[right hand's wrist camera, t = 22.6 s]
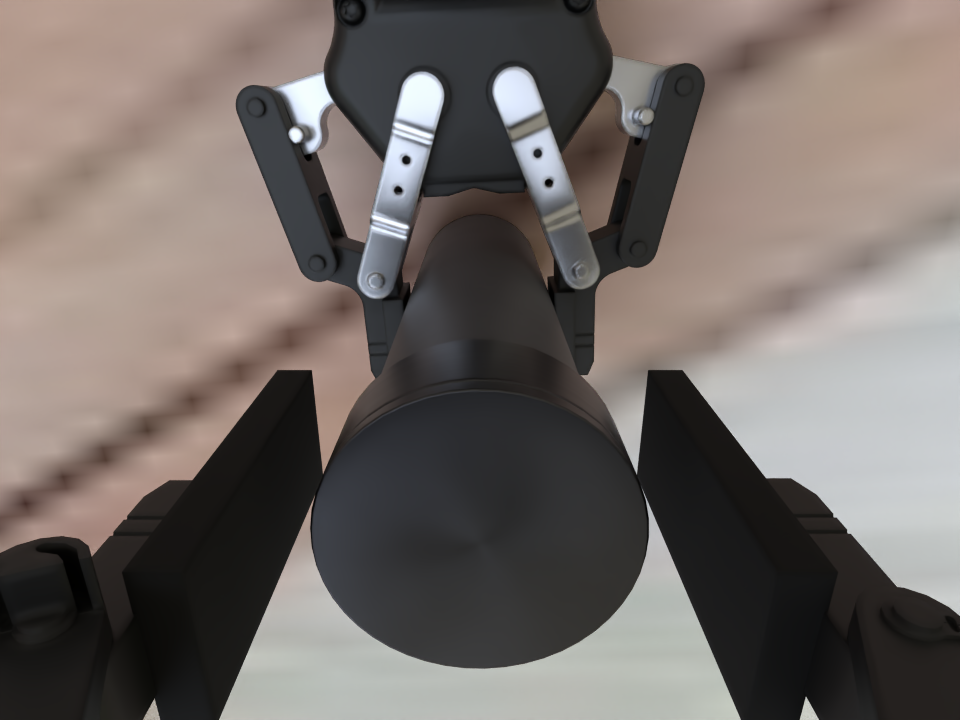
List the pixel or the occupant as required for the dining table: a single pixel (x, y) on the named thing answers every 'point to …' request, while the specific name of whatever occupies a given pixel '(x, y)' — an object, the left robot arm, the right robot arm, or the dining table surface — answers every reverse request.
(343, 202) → the dining table surface
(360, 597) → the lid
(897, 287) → the dining table surface
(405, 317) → the jar
